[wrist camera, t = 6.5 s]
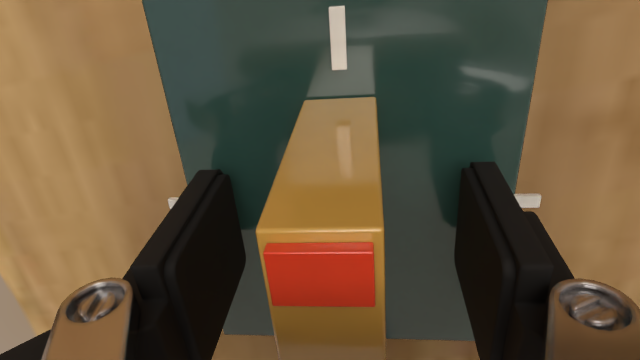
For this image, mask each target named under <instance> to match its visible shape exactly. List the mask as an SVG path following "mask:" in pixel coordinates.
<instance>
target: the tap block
mask: <svg viewBox="0 0 640 360" xmlns="http://www.w3.org/2000/svg"><path fill="white" fill-rule="evenodd" d="M142 3H143V7H144V11H145V15H146V19H147V23H148V28H149V32H150V36H151V40H152V44H153V48H154V52H155V56H156V60H157V64H158V68H159V72H160V76H161V80H162V84H163V88H164V92H165V96H166V100H167V104H168V109H169V113H170V117H171V121H172V125H173V129H174V133H175V137H176V141H177V145H178V149H179V153H180V157H181V161H182V165H183V169H184V173H185V177H186V181H187V185H188V184H189V183H190V182H191V180H192V179H193V177H194V176H195V174H196V173H197V172H198V171H199V170H214V169H220V170H222V172H223V174H228V175H229V177H230V180H231V184H232V189H233V194H234V199H235V204H236V209H237V214H238V219H239V223H240V228H241V233H242V238H243V243H244V248H245V253H246V264H245V268H244V271H243V274H242V276H241V279H240V282H239V285H238V287H237V290H236V293H235V296H234V298H233V301H232V304H231V307H230V309H229V312H228V315H227V318H226V320H225V323H224V326H223V331H224V334H226V335H263V336H274V331H273V325H272V320H271V314H270V309H269V304H268V298H267V293H266V288H265V282H264V277H263V272H262V266H261V261H260V255H259V250H258V245H257V239H256V234H255V230H256V227H257V225H258V222H259V219H260V217H261V214H262V211H263V209H264V206H265V203H266V201H267V198H268V195H269V193H270V190H271V187H272V184H273V182H274V179H275V176H276V174H277V171H278V168H279V166H280V163H281V160H282V158H283V155H284V152H285V150H286V147H287V144H288V142H289V139H290V136H291V134H292V131H293V128H294V126H295V123H296V120H297V118H298V115H299V112H300V109H301V107H302V104H303V101H305V100H319V99H340V98H361V97H375V98H376V99H377V112H378V128H379V145H380V161H381V177H382V194H383V210H384V226H385V294H386V339H415V340H454V341H475V339H474V335H473V331H472V328H471V324H470V320H469V316H468V313H467V309H466V305H465V301H464V298H463V294H462V290H461V286H460V283H459V279H458V275H457V271H456V267H455V261H454V250H455V238H456V226H457V215H458V203H459V192H460V180H461V171H462V168H469V166H470V163H471V162H494V161H495V163H496V164H497V166H498V168H499V169H500V171H501V173H502V175H503V177H504V178H505V180H506V182H507V184H508V185H509V187H510V189H511V191H512V193H513V194H514V196H515V198H516V200H517V201H518V203H519V205H520V207H521V208H539V206H540V201H541V195H540V194H515V190H516V184H517V178H518V172H519V166H520V160H521V154H522V149H523V143H524V137H525V131H526V125H527V119H528V114H529V108H530V102H531V96H532V90H533V84H534V79H535V73H536V67H537V61H538V55H539V49H540V43H541V38H542V32H543V26H544V20H545V14H546V8H547V3H548V0H142ZM178 198H179V197H170V198H169V199H168V204H169V207H170V210H171V208H172V207H173V206H174V204H175V203H176V201H177V200H178Z"/></svg>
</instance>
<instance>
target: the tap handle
mask: <svg viewBox="0 0 640 360" xmlns="http://www.w3.org/2000/svg"><path fill="white" fill-rule="evenodd" d="M255 234H256V239H257V245H258V250H259V255H260V261H261V266H262V272H263V277H264V282H265V288H266V293H267V298H268V304H269V309H270V314H271V320H272V325H273V331H274V336H275V341H276V347H277V352H278V357H279V360H386V294H385V226H384V210H383V194H382V177H381V161H380V145H379V128H378V112H377V99H376V98H375V97H361V98H340V99H319V100H305V101H303V104H302V107H301V109H300V112H299V115H298V118H297V120H296V123H295V126H294V128H293V131H292V134H291V136H290V139H289V142H288V144H287V147H286V150H285V152H284V155H283V158H282V160H281V163H280V166H279V168H278V171H277V174H276V176H275V179H274V182H273V184H272V187H271V190H270V193H269V195H268V198H267V201H266V203H265V206H264V209H263V211H262V214H261V217H260V219H259V222H258V225H257V227H256V230H255Z"/></svg>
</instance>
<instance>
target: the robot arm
mask: <svg viewBox="0 0 640 360" xmlns="http://www.w3.org/2000/svg"><path fill="white" fill-rule="evenodd" d="M454 261H455V267H456V271H457V275H458V279H459V283H460V286H461V290H462V294H463V298H464V301H465V305H466V309H467V313H468V316H469V320H470V324H471V328H472V331H473V335H474V339H475V343H476V346H477V350H478V354H479V358H480V360H640V309H639V307H638V306H637V305H636V304H635V303H634V302H633V301H632V299H631V298H629V297H628V296H626V295H625V294H624V293H622V292H621V291H619V290H617V289H615V288H613V287H611V286H609V285H607V284H604V283H601V282H597V281H594V280H587V279H575V278H574V276H573V275H572V273H571V271H570V270H569V268H568V266H567V265H566V263H565V262H564V260H563V258H562V257H561V255H560V253H559V252H558V250H557V248H556V247H555V245H554V243H553V242H552V240H551V238H550V237H549V235H548V233H547V232H546V230H545V228H544V227H543V225H542V223H541V222H540V220H539V218H538V217H537V215H536V214H535V213H534V212H523V210H522V209H521V207H520V205H519V203H518V201H517V200H516V198H515V196H514V194H513V193H512V191H511V189H510V187H509V185H508V184H507V182H506V180H505V178H504V177H503V175H502V173H501V171H500V169H499V168H498V166H497V164H496V163H495V161H494V162H471V163H470V166H469V168H462V171H461V180H460V192H459V203H458V215H457V226H456V238H455V250H454ZM245 264H246V253H245V248H244V243H243V238H242V233H241V228H240V223H239V219H238V214H237V209H236V204H235V199H234V194H233V189H232V184H231V180H230V177H229V175H228V174H223V172H222V170H220V169H214V170H199V171H198V172H197V173H196V174H195V176H194V177H193V179H192V180H191V182H190V183H189V184H188V186H187V187H186V189H185V190H184V191H183V193H182V194H181V196H180V197H179V198H178V200H177V201H176V203H175V204H174V206H173V207H172V208H171V210H170V211H169V213H168V214H167V215H166V217H165V218H164V220H163V221H162V223H161V224H160V225H159V227H158V228H157V230H156V231H155V232H154V234H153V235H152V237H151V238H150V240H149V241H148V242H147V244H146V245H145V247H144V248H143V249H142V251H141V252H140V254H139V255H138V257H137V258H136V259H135V261H134V262H133V264H132V265H131V266H130V269H129V270H128V271H127V273H126V274H125V276H124V277H123V279H121V278H106V279H100V280H97V281H94V282H91V283H88V284H86V285H84V286H82V287H80V288H79V289H77V290H76V291H74V292H73V293H72V294H70V295H69V296H68V297H67V298H66V299H65V300H64V301H63V302H62V304H61V306H60V308H59V309H58V311H57V314H56V317H55V320H54V323H53V326H52V329H51V330H49V331H47V332H45V333H42V334H40V335H38V336H36V337H34V338H33V339H30V340H29V341H26V342H24V343H22V344H20V345H18V346H16V347H14V348H12V349H11V350H9V351H6V352H4V353H3V354H1V355H0V360H211V359H212V356H213V354H214V351H215V348H216V345H217V343H218V340H219V337H220V334H221V332H222V329H223V326H224V323H225V320H226V318H227V315H228V312H229V309H230V307H231V304H232V301H233V298H234V296H235V293H236V290H237V287H238V285H239V282H240V279H241V276H242V274H243V271H244V268H245Z"/></svg>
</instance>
